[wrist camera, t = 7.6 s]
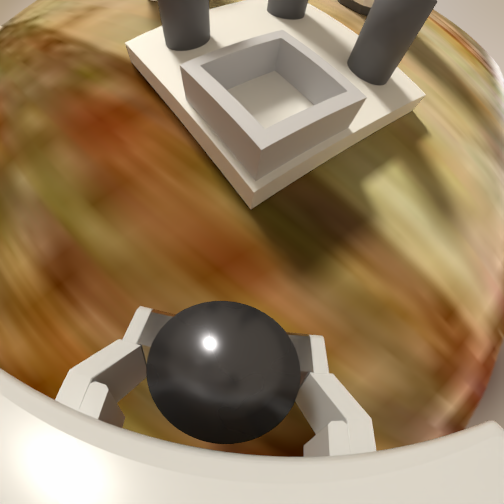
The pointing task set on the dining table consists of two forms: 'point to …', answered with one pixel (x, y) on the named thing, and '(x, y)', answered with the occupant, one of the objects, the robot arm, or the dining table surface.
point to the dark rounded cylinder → (223, 372)
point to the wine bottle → (358, 5)
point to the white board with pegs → (279, 81)
